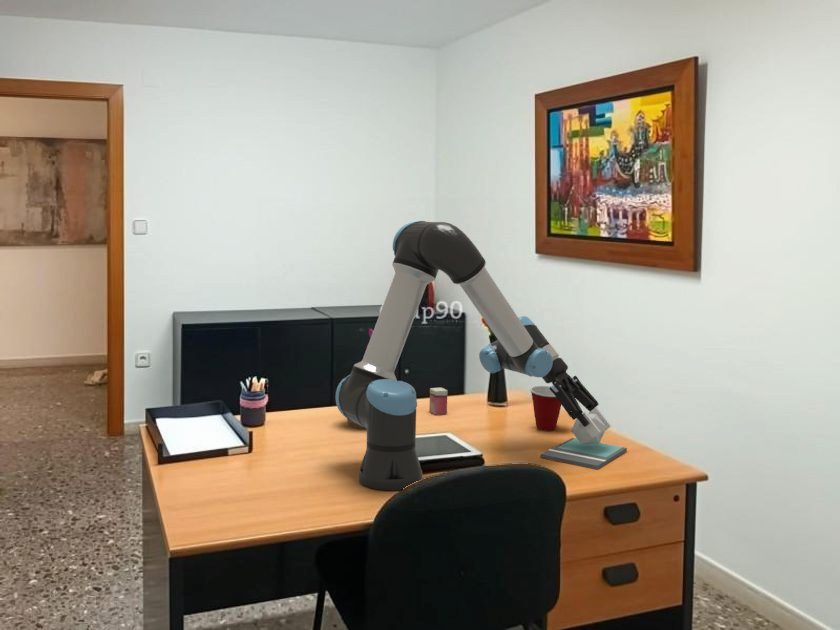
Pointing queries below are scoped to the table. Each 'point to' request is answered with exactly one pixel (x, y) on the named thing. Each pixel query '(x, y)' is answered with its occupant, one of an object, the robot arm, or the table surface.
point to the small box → (438, 401)
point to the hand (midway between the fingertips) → (601, 431)
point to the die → (584, 435)
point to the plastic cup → (545, 408)
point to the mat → (584, 453)
